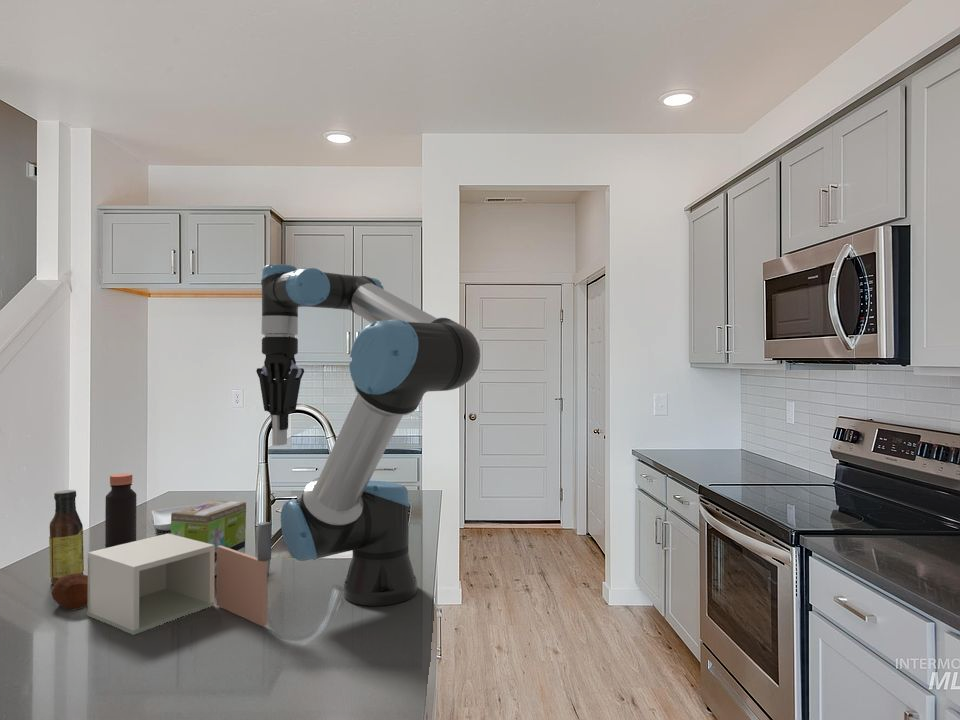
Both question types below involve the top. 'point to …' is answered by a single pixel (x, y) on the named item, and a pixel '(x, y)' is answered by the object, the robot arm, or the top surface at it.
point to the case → (150, 581)
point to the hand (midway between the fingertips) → (279, 444)
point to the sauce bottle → (65, 537)
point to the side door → (245, 578)
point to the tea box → (213, 524)
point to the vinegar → (120, 511)
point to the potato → (71, 591)
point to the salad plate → (165, 517)
